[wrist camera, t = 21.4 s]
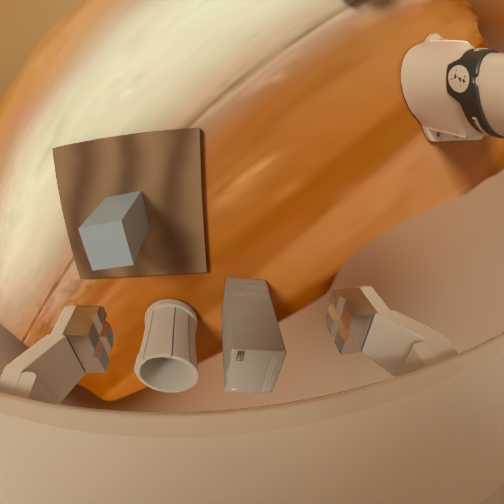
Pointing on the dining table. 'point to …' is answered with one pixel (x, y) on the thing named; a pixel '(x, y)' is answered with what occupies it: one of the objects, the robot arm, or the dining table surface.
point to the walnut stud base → (153, 191)
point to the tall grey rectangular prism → (115, 231)
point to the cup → (168, 347)
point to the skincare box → (250, 337)
